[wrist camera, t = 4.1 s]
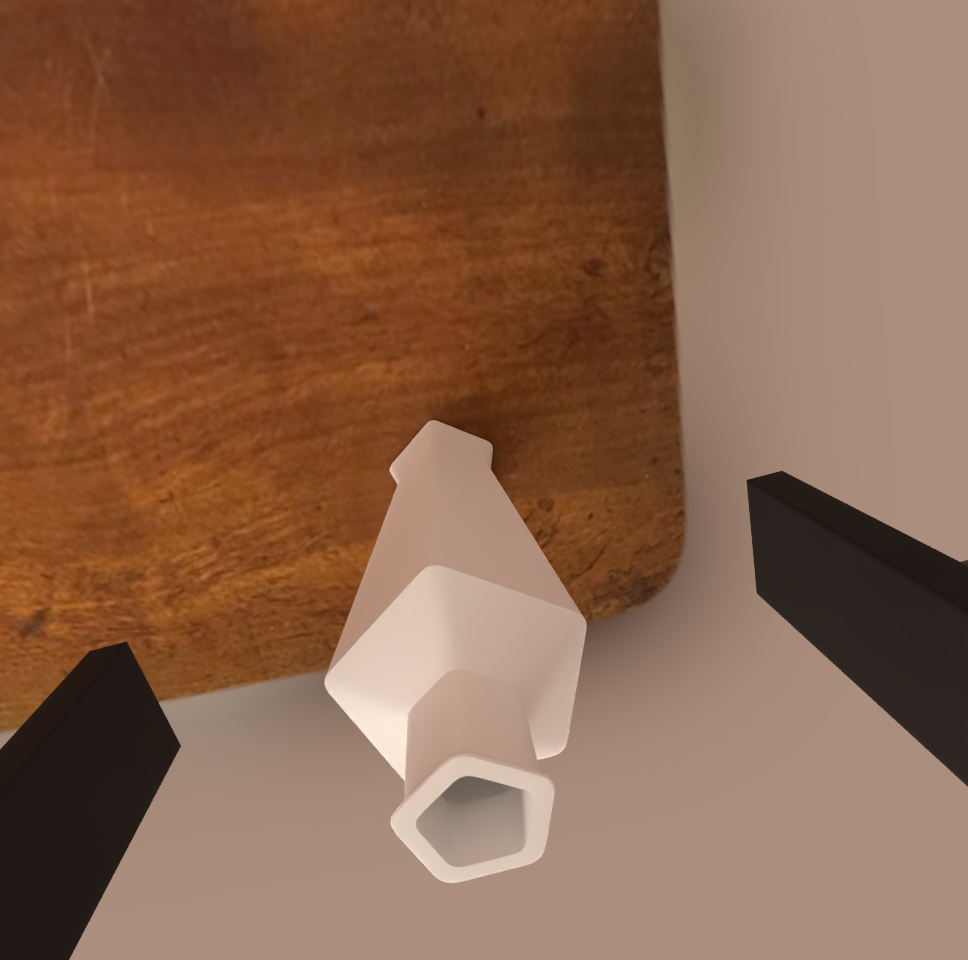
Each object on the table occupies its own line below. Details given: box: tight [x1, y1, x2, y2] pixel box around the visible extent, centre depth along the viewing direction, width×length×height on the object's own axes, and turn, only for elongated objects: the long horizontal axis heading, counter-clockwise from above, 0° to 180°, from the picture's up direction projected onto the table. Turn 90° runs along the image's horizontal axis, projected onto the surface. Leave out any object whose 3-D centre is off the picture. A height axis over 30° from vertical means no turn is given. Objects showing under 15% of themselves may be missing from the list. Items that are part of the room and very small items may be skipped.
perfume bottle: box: [325, 420, 586, 883], centre depth 15 cm, size 5×4×15 cm
